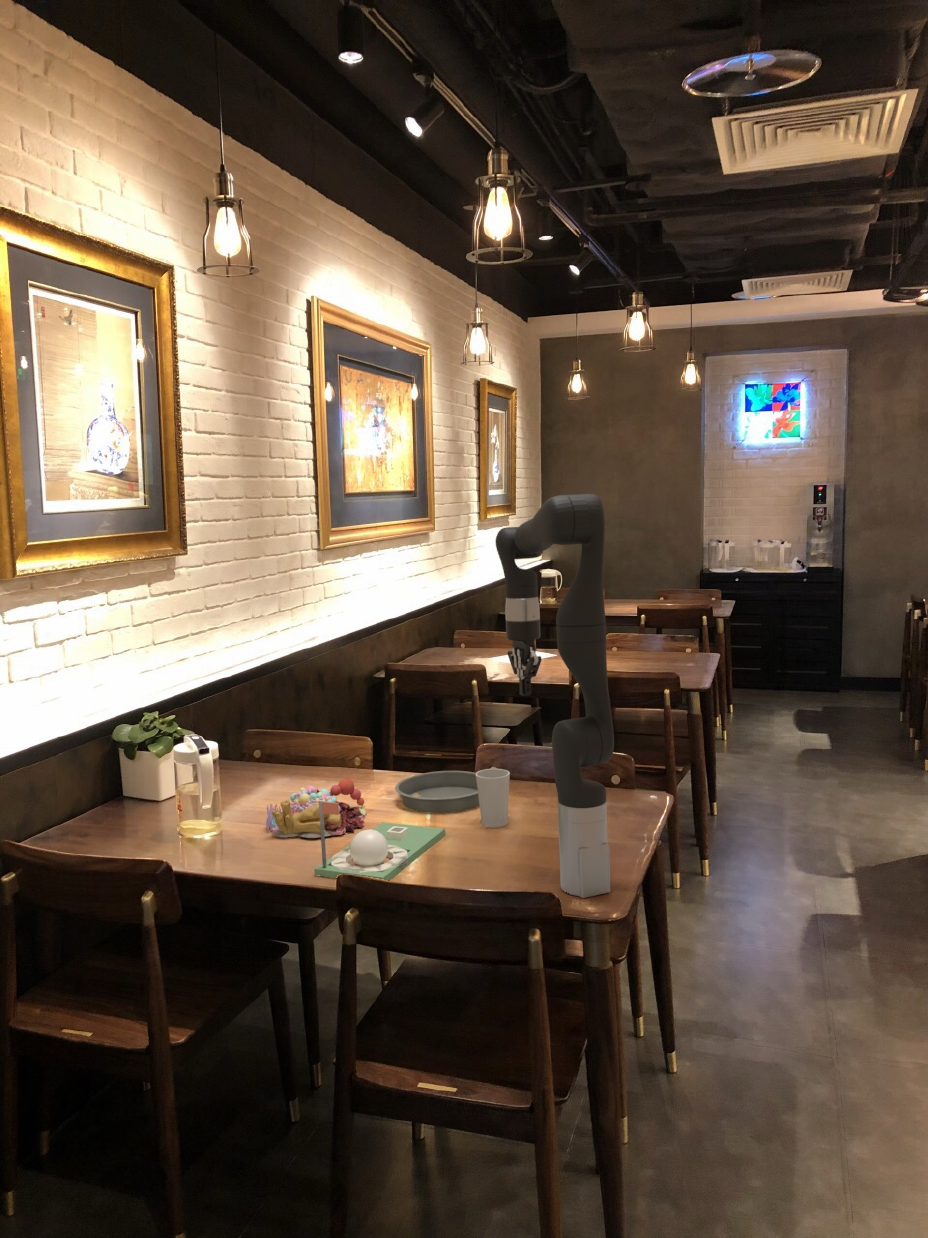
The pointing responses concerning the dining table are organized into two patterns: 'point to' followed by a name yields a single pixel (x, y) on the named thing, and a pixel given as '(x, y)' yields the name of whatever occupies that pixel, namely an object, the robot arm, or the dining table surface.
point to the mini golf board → (401, 848)
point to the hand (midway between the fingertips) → (525, 695)
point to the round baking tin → (440, 791)
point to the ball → (369, 848)
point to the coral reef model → (316, 812)
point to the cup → (493, 796)
